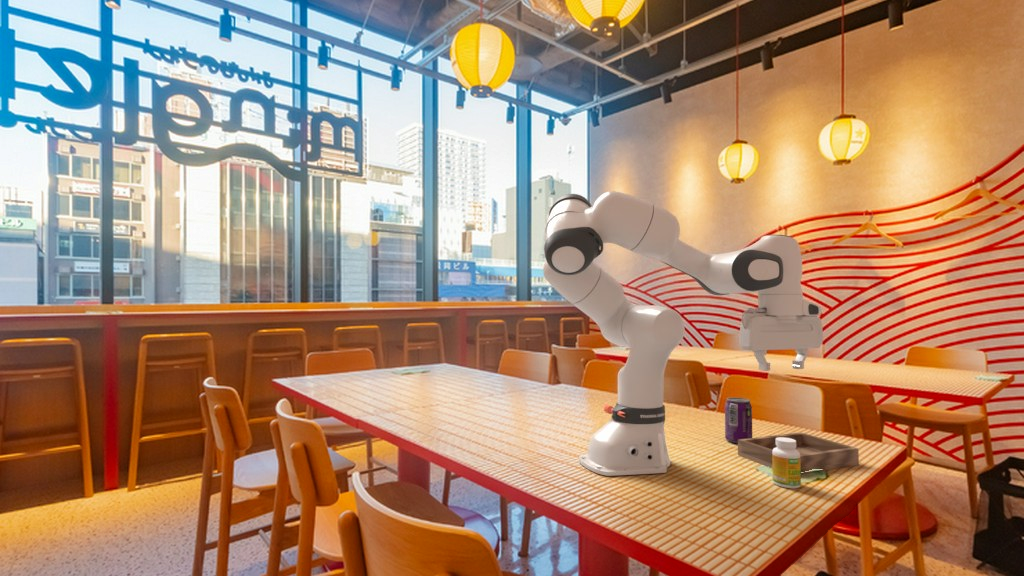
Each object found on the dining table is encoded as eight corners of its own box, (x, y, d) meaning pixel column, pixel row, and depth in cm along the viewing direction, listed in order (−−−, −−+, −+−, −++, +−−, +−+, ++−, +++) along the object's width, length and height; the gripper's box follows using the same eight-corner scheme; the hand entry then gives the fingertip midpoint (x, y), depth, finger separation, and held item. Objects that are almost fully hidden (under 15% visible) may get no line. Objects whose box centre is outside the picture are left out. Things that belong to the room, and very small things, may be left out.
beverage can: (757, 445, 138) (756, 401, 138) (731, 445, 138) (730, 401, 138) (745, 438, 145) (745, 397, 145) (721, 438, 145) (720, 397, 146)
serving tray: (791, 475, 114) (791, 457, 114) (737, 455, 129) (737, 439, 129) (858, 464, 121) (858, 448, 121) (800, 447, 136) (800, 432, 136)
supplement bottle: (790, 490, 104) (789, 444, 105) (767, 482, 109) (766, 438, 109) (806, 486, 107) (805, 441, 107) (782, 478, 112) (782, 435, 112)
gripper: (753, 308, 105) (754, 373, 104) (827, 307, 111) (829, 369, 110) (731, 307, 111) (733, 369, 110) (803, 307, 117) (804, 366, 116)
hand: (781, 369), depth 110 cm, fingers open, 8 cm apart
